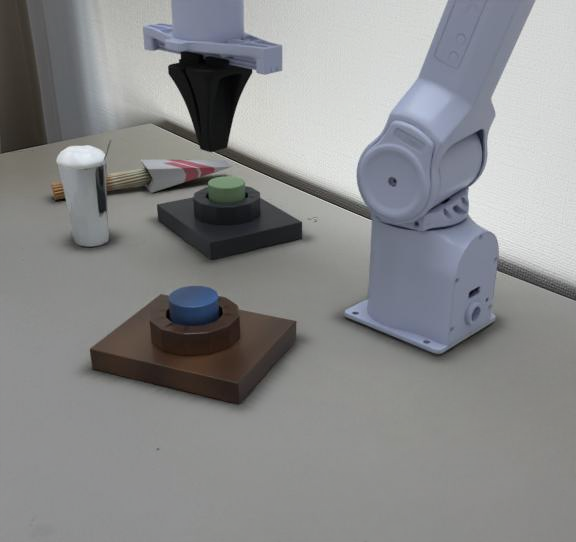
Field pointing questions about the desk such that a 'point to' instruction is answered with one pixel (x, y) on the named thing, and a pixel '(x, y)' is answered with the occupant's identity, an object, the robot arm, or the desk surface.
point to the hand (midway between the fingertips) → (213, 148)
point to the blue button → (194, 306)
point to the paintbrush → (157, 174)
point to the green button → (226, 189)
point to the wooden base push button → (196, 350)
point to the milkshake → (85, 192)
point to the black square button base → (228, 223)
